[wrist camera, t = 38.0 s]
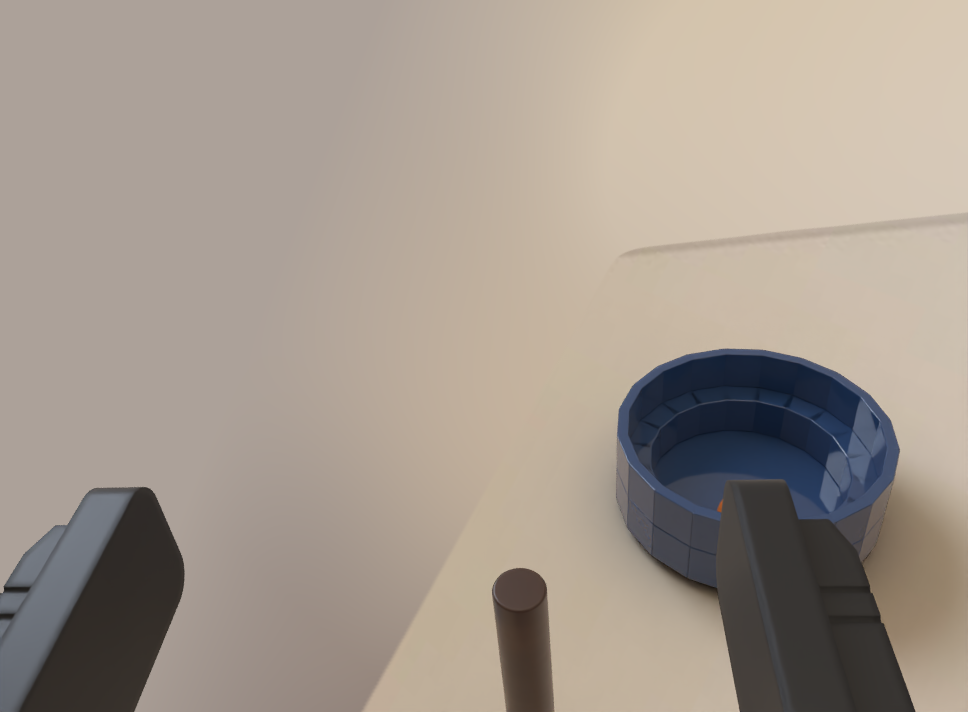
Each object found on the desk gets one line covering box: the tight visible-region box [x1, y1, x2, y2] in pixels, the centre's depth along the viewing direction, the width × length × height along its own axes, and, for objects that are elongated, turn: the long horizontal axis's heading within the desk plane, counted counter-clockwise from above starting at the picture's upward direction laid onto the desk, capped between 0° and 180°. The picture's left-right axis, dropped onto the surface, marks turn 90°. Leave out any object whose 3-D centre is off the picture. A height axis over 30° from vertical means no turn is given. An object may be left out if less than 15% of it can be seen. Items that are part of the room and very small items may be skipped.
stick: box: [492, 568, 554, 712], centre depth 33 cm, size 4×4×14 cm
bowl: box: [616, 349, 900, 588], centre depth 48 cm, size 14×14×6 cm
